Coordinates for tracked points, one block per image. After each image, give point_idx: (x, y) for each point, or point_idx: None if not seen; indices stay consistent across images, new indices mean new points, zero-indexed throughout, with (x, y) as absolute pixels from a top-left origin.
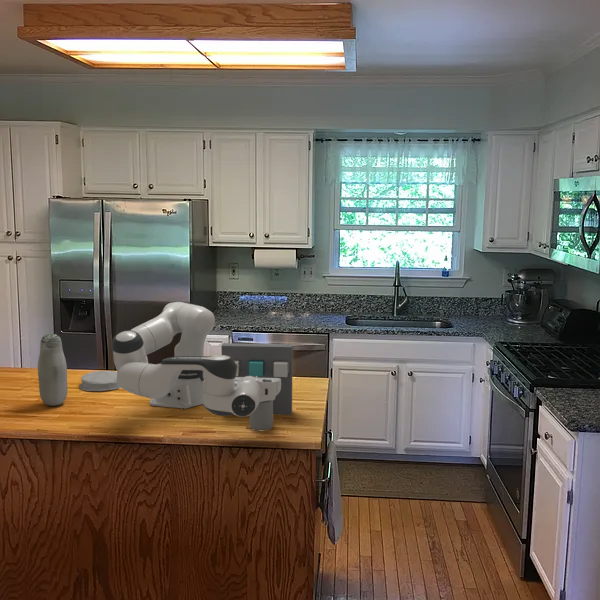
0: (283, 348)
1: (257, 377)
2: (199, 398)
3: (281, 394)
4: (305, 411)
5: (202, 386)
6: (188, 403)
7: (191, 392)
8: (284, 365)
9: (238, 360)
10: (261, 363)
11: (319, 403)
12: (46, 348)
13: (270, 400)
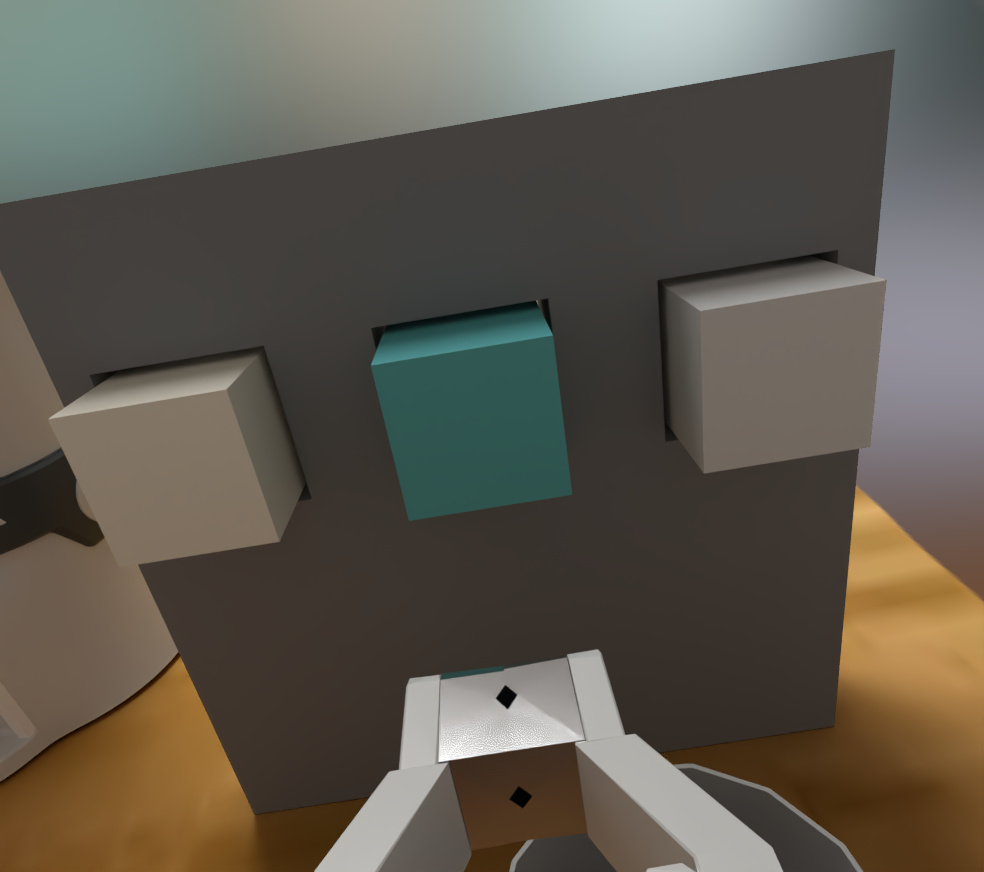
0: (779, 92)
1: (650, 764)
2: (102, 664)
3: (750, 598)
4: (890, 641)
5: (108, 576)
6: (16, 730)
7: (7, 658)
8: (844, 310)
9: (250, 356)
10: (537, 340)
11: (881, 522)
12: None
13: (777, 833)
